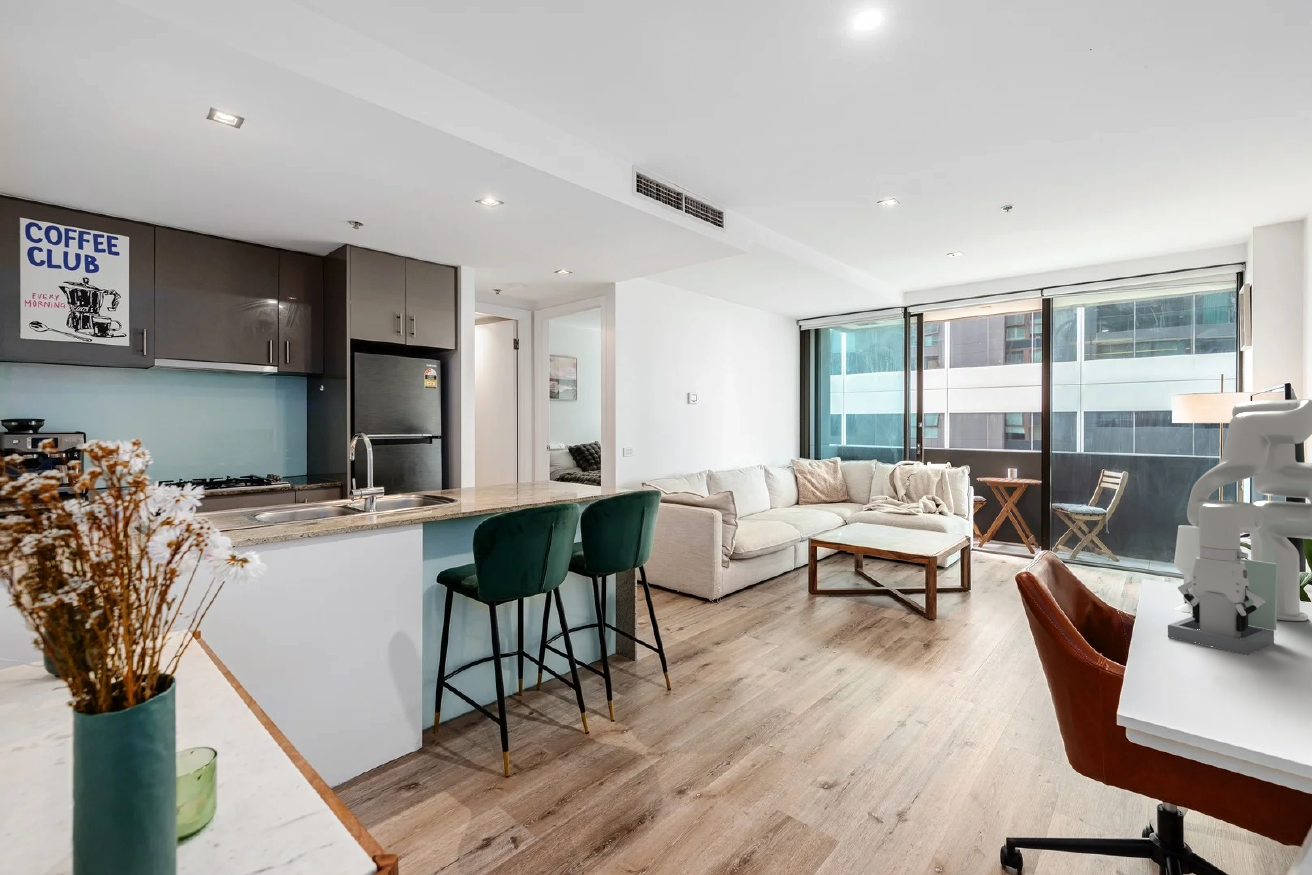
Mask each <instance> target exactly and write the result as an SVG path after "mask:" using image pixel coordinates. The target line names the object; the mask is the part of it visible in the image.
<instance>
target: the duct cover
mask: <svg viewBox="0 0 1312 875" xmlns="http://www.w3.org/2000/svg"><path fill="white" fill-rule="evenodd" d="M1240 561H1241V562H1245V564H1246V568H1247V572H1248V578H1249V585H1250V590H1251V591H1252V592H1254V593H1255V594H1257V595H1258V596H1259V597H1261V598H1262V599H1263V600H1265V603H1264V604H1263V605H1262V606H1261V607H1259V608H1258V609H1257V610H1255V611H1254V612H1252V613H1250V614H1248V626H1253V627H1258V628H1264V629H1269V630H1274V631H1277V621H1278V620H1277V589H1278V564H1276V563H1268V562H1260V561H1252V560H1251V559H1245V558H1243V559H1241V560H1240ZM1253 603H1254V601H1253V600H1252V599H1250V600H1249V601H1248V602H1245V604H1246V605H1247V607H1249V606H1251V605H1252V604H1253Z"/></svg>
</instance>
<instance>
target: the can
mask: <svg viewBox="0 0 1312 875" xmlns="http://www.w3.org/2000/svg"><path fill="white" fill-rule="evenodd" d="M1205 592H1206V594H1204V595H1202V596H1200V598H1199V600H1200V630H1201V631H1206V632H1211V633H1215V634H1220V635H1225V636H1229V637H1234V638H1239V639H1242V638H1241V632H1238V631H1237V615H1239V612H1238V610H1237V609H1236V605H1235V604H1234V603H1233V602H1232V601H1230V600H1229V599H1228V598H1226V596H1227V595H1224V594H1216V593H1210V592H1207V591H1205Z"/></svg>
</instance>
